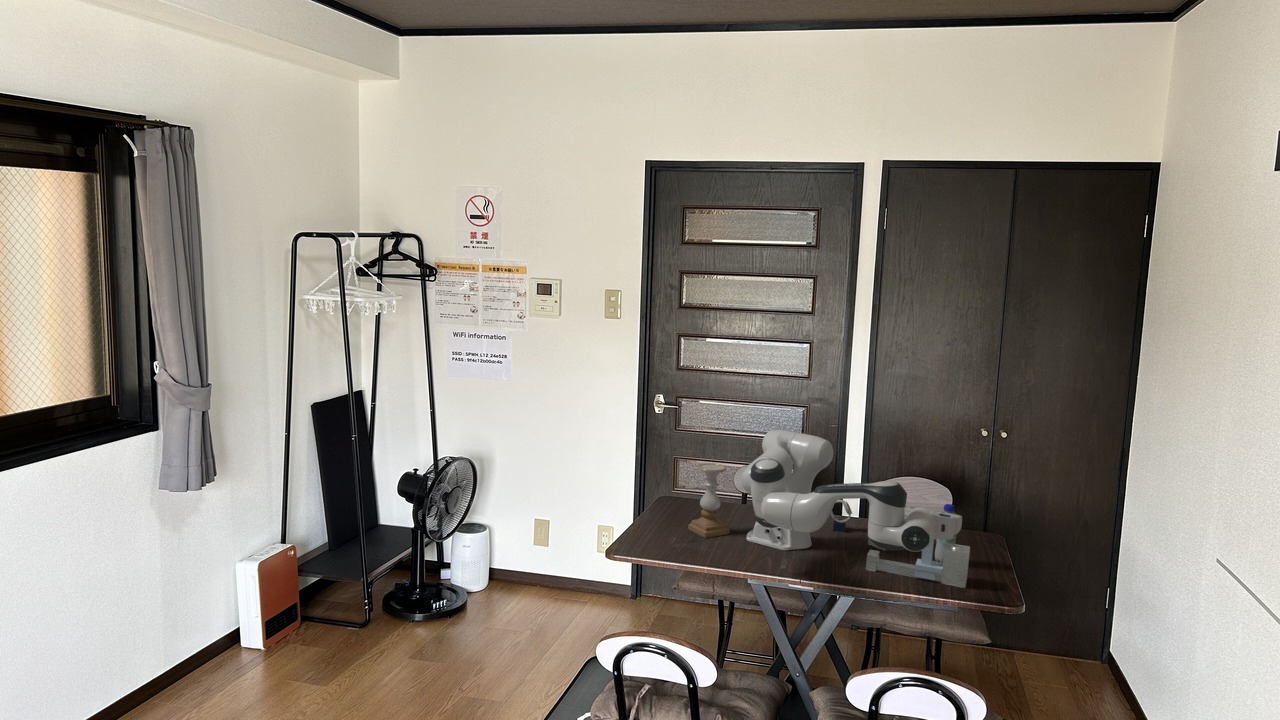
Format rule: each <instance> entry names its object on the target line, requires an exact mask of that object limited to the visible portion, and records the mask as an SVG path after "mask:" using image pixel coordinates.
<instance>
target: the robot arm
mask: <svg viewBox="0 0 1280 720" xmlns="http://www.w3.org/2000/svg"><path fill="white" fill-rule="evenodd" d="M761 448H762V452H763V453H762V454H761V455H760V456H758V457H757V458H756V459H754V460H753V461H752V462H750V464H749V465H748V466H746V468H745V469H744V471H743V472H742V473H741V477H740V483H741V487H742V488H743V489H744V491H745V492H746V493H747V494H749V495H751V501H752V508H753V514H754V518H755V524H754V526H753V529H751V530H749V532H747V534H746V538H745V539H746V540H747V541H748V542H750V543H755V544H759V545H762V546H766V547H770V548H773V549H776V550H781V551H790V550H802V549H808V548H810V547H811V546H812V544H813V543H812V539H811V534H810V533H815V532H817V531H818V530H819V529H821V528H822V527H823V526H824V525H825V524H826V523H827V521H828V519H829V516H831V514H830V513H831V510H832V511H833V509H834V505H835V504H837V503H836V501H837V500H846V499H847V500H850V499H867V501H868V503H869V504H868V505H869V506H868V520H867V538H868V537H869V539H870V540H871V541H872V542H873V543H874V544H875V545H876V546H878V547H880V548H882V549H886V550H885V551H903V550H907V551H909V552H914V553H915V552H917V553H918V552H922V550H924V549H926V548H928V547H929V546H930V545H931V543H932V542H933V540H934V541H935V540H937V539H953V537H954V535H955V534H956V535H957V534H958V533H959V532H961V529H962V524H963V515H960V514H957V515H954V514H948V513H947V512H942V511H935V510H931V509H930V508H928V507H924V506H923V507H922V506H921V507H920V506H919V507H915V508H914V507H913V506H908V507H906V505H907V498H908V493H907V491H906V489H904V487H903V485H901V484H900V482H896V481H891V480H884V481H883V480H881V481H877V482H875V481H874V482H859V483H857V482H855V483H854V482H853V483H851V482H850V483H849V482H848V483H833V484H831V483H830V484H823V485H819V486H817V487H815V488H814V490H813V491H812V486H813V482H814V480H815V478H816V476H817V475H818V473H819V472H820V471H822V470H823V469H826V468H827V467H828V466H829V465H830V463H831V462H832V461H833V458H834V448H833V445H832V443H831V442H830V441H829V440H828V439H825V438H823V437H820V436H817V435H813V434H812V435H811V434H807V433H803V432H797V431H790V430H785V429H773V430H772V429H771V430H769V431H767V432H766V434H765V435H764V436H763V438H762V443H761Z"/></svg>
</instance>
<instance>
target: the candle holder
mask: <svg viewBox="0 0 1280 720" xmlns="http://www.w3.org/2000/svg"><path fill="white" fill-rule="evenodd" d="M697 469H698V470H699V471H701V472H703V473H704V474H705V476H706V479H705V482H704V483H703V485H704V488H705V493H704V494H703V495H702V497H701V499H700V501H699V505H700V507H701V508H702V510H701V512H700V514H701V517H699V518H697V519H693V520H691V521H690V522H691V523H688V524H687V525H688V526H687V528H688V530H689V531H691V532H692V533H695V534H696V535H698V536H700V537H702V538H704V539H709V538H713V537H721V536H727V535H730V528H729V527H728V525H727V524H726V523H725V522H723V521H721V519H720V518H718V516H719V512H718V509H719V508H720V506H721V500H720V498H719V496H718V494H717V492H716V490H717V488H718V487H719V485H720V484H719V482H718V481H717V477H718V476H719V475H720V474H721V473H725V472H726V471H727V467H726V465H723V464H719V463H711V462H709V463H708V462H707V463H700V464H698V465H697Z"/></svg>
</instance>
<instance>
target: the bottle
mask: <svg viewBox="0 0 1280 720" xmlns="http://www.w3.org/2000/svg"><path fill="white" fill-rule="evenodd" d="M941 512H947V513H948V514H954V515H958V514H957V513H956V512H955V505H954V504H951V503H945V504H944V505H943V510H941ZM956 540H957V534H955V535H954V537H953V539H936V541H935V544H936V545H935V550H934V558H935V562H940V563H943V560H944V549H945V546H946V543H952V544H956Z"/></svg>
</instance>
